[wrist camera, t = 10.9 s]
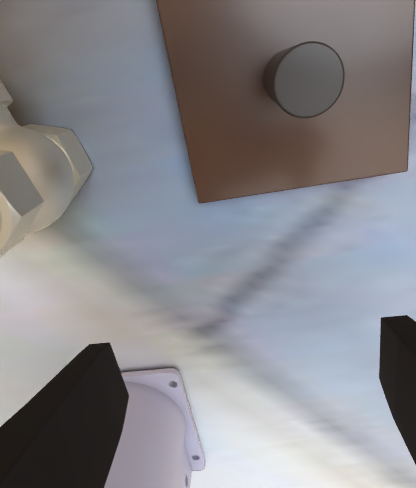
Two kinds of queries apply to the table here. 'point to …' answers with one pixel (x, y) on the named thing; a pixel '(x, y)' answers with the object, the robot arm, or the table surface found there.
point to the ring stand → (290, 90)
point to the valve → (35, 175)
